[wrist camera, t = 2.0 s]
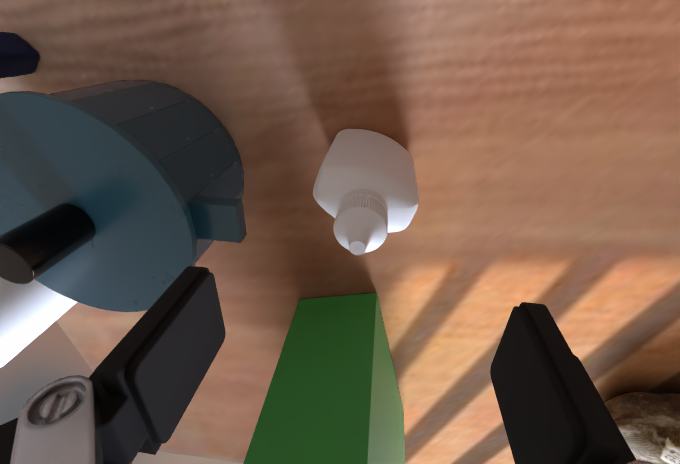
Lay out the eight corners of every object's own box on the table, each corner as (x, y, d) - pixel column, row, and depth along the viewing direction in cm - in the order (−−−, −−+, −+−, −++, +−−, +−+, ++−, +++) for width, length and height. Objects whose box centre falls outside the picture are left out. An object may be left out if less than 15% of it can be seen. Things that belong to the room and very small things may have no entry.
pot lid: (-82, 82, 17) (-244, 101, 13) (172, 95, 16) (89, 121, 11) (36, 290, 24) (-42, 347, 20) (219, 310, 23) (179, 377, 18)
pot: (26, 74, 24) (-128, 93, 17) (270, 85, 22) (214, 112, 15) (89, 226, 31) (-4, 286, 24) (282, 244, 29) (247, 315, 22)
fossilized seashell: (755, 407, 28) (621, 369, 30) (775, 502, 25) (626, 453, 27) (680, 409, 35) (575, 377, 37) (690, 484, 32) (575, 446, 34)
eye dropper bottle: (373, 200, 26) (361, 312, 16) (322, 145, 24) (272, 230, 14) (420, 165, 24) (443, 266, 14) (369, 102, 22) (352, 164, 12)
